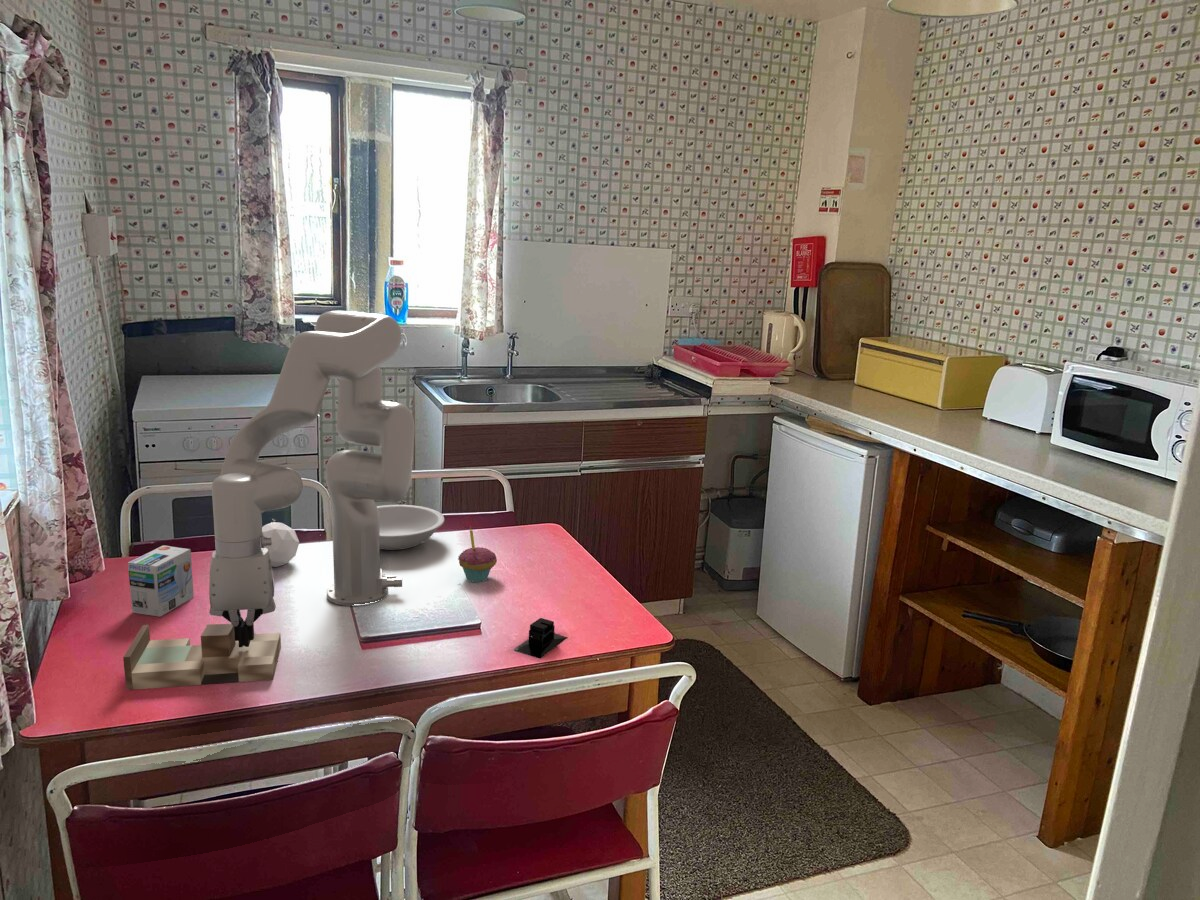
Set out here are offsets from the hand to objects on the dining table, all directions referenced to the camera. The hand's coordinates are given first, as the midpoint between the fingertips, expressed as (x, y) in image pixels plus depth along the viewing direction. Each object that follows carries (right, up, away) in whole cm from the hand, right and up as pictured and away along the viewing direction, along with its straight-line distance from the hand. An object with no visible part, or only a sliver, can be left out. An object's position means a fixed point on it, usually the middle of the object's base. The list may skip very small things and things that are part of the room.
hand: (244, 643), depth 153 cm
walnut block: (-4, -1, 0) cm, 5 cm away
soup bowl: (+12, +10, +62) cm, 64 cm away
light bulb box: (-26, +2, +24) cm, 35 cm away
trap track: (-6, -4, 0) cm, 8 cm away
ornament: (-13, +8, +49) cm, 51 cm away
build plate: (+51, -4, +15) cm, 53 cm away
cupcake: (+35, +5, +44) cm, 56 cm away
